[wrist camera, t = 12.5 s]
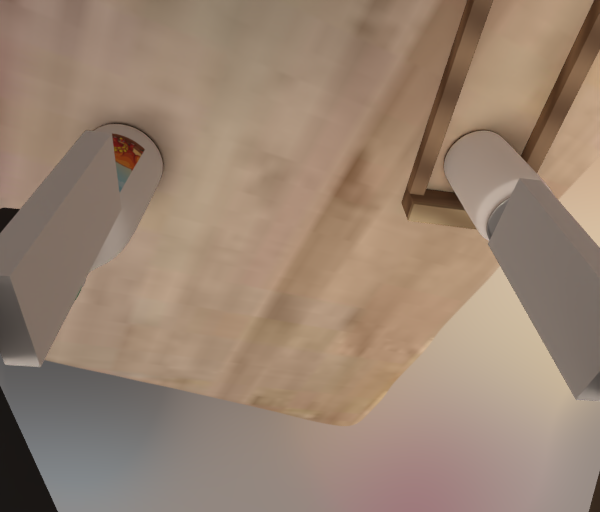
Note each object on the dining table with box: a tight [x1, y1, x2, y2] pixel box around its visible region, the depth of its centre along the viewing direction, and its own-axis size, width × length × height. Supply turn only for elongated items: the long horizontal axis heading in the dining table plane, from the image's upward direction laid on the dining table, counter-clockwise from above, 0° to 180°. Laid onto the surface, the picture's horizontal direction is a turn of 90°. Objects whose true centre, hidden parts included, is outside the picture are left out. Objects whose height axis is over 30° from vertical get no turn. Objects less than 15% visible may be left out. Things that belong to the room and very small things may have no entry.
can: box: [444, 131, 553, 241], centre depth 42 cm, size 6×6×12 cm
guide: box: [402, 0, 600, 229], centre depth 42 cm, size 24×12×4 cm, turn 171°
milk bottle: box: [75, 124, 163, 300], centre depth 39 cm, size 8×8×20 cm
